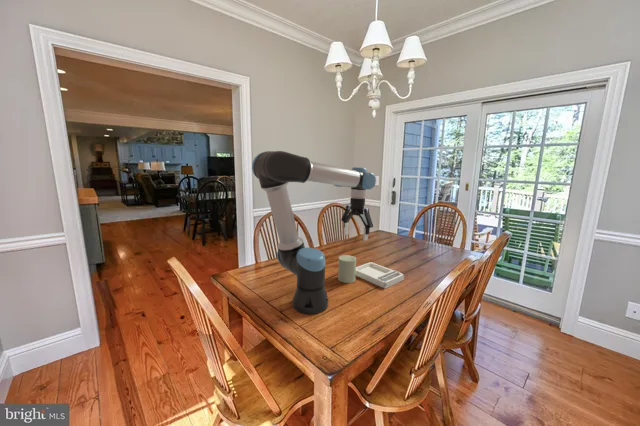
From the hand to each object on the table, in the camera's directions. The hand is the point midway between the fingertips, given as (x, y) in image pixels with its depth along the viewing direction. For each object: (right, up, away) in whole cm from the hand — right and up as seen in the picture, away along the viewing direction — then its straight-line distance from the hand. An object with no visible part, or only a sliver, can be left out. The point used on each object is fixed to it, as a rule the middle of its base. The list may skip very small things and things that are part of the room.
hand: (355, 237), depth 139 cm
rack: (+12, -21, 0) cm, 24 cm away
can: (-5, -22, -3) cm, 23 cm away
